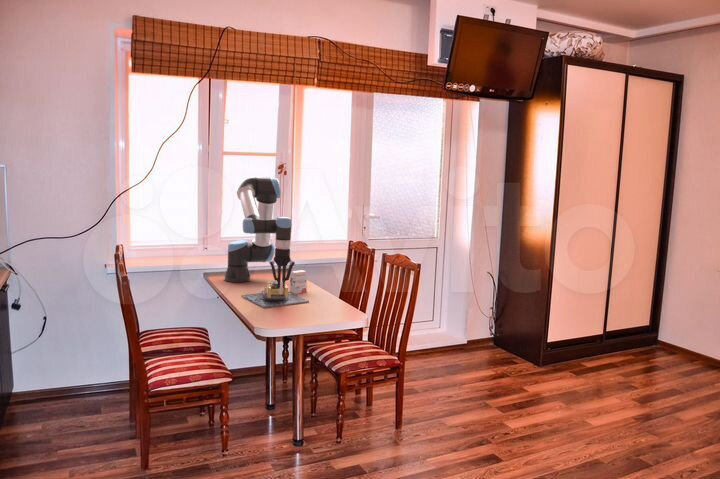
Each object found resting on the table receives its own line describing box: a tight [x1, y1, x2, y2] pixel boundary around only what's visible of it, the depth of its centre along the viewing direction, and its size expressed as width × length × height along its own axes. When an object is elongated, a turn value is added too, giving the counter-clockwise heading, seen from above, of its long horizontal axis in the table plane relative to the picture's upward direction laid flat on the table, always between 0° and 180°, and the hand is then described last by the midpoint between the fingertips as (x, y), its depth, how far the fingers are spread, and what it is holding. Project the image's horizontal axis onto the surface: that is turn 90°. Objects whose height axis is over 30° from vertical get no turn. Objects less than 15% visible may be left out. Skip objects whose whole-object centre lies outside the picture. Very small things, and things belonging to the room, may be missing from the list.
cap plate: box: [240, 281, 310, 309], centre depth 306 cm, size 26×26×9 cm
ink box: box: [289, 270, 308, 295], centre depth 324 cm, size 9×5×12 cm, turn 135°
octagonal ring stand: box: [263, 281, 289, 298], centre depth 302 cm, size 18×11×5 cm, turn 14°
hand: (280, 293), depth 297 cm, fingers closed
